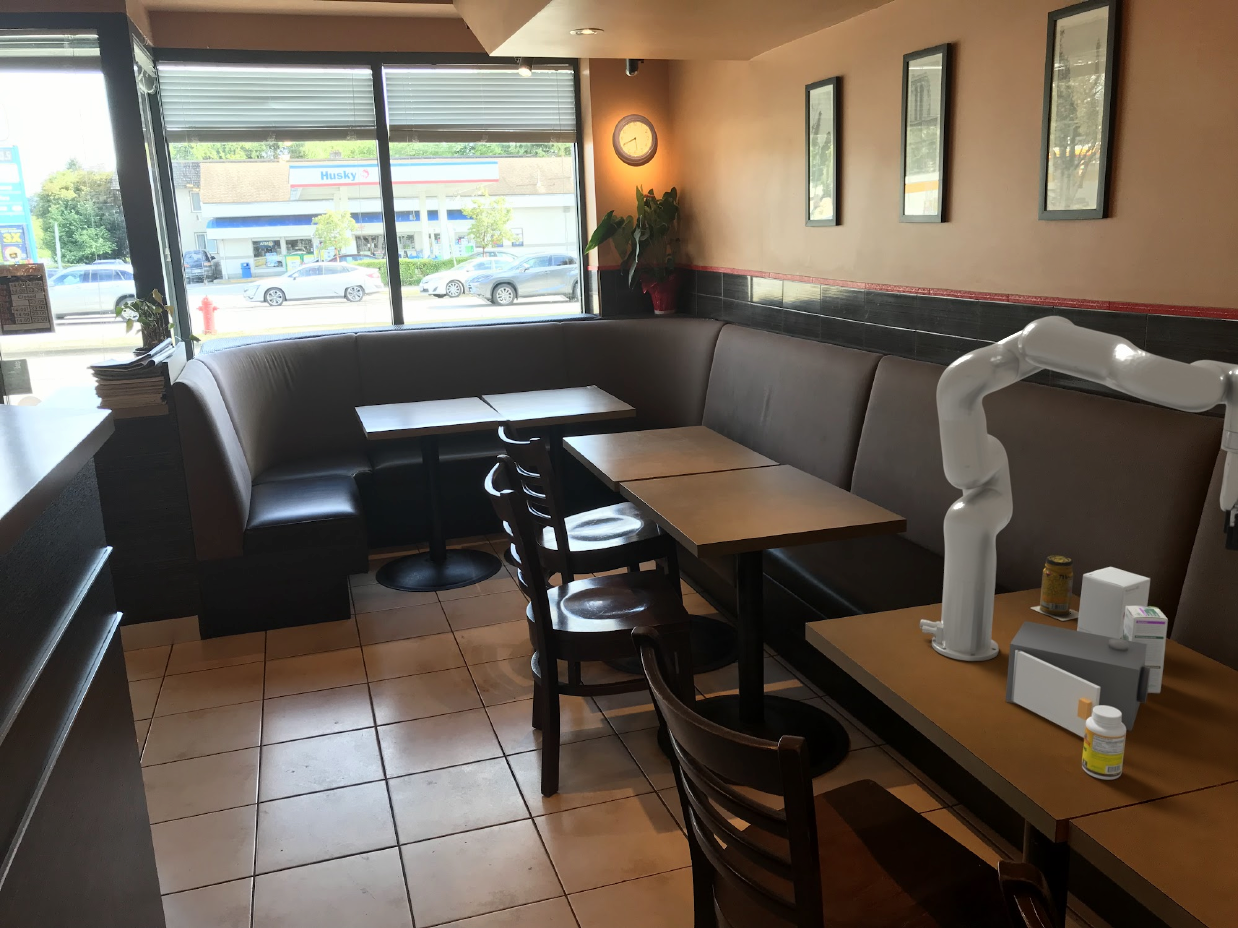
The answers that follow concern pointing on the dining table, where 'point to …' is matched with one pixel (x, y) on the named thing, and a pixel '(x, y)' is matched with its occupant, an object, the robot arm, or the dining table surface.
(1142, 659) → the box
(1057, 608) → the condiment
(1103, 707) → the supplement bottle
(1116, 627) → the supplement box
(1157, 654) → the syrup box
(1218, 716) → the dining table surface
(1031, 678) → the side door
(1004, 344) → the robot arm
